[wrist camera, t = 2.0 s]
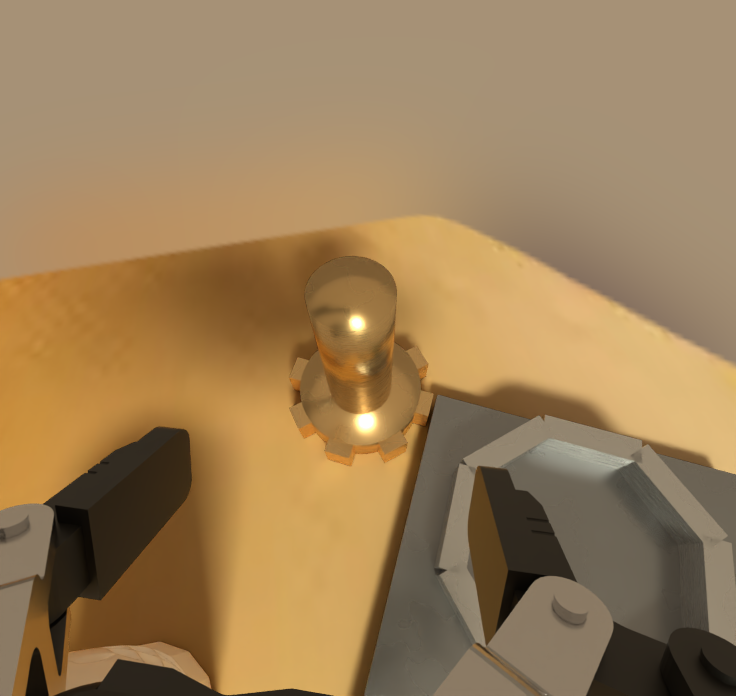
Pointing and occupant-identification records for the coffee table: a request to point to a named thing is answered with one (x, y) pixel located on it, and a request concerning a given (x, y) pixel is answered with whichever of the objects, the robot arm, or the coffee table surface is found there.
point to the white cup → (99, 661)
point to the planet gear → (357, 365)
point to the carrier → (572, 528)
